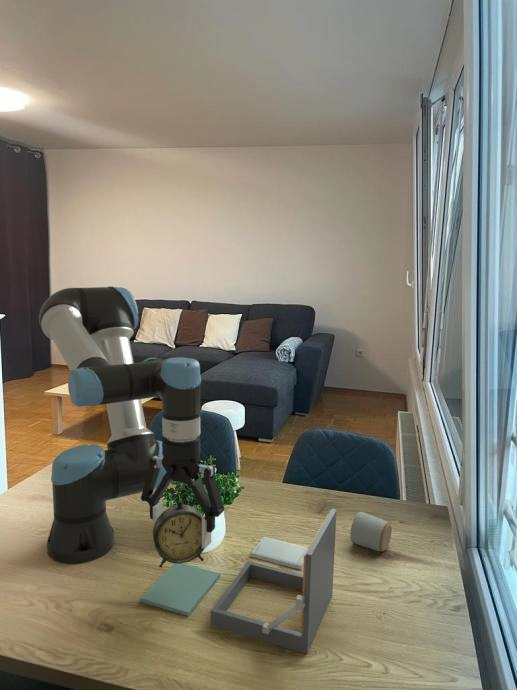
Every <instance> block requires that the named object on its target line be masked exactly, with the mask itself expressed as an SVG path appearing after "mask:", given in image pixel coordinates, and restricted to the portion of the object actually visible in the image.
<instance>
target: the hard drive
mask: <svg viewBox="0 0 517 690" xmlns="http://www.w3.org/2000/svg"><path fill="white" fill-rule="evenodd" d="M308 548H309V547H306V546H303V545H299V544H295V543H291V542H289V541H284V540H283V541H282V540H279V539H276V538H272V537H267V536H263V537H262V538H261V540H260V541H259V543H257V544H256V545H255V547H254V548H253V549H252V551H251V552H250V557H251V558H254V559H259V560H263V561H265V562H270V563H274V564H276V565H277V564H278V565H281V566H285V567H289V568H293V569H297V570H301V571H303V567H304V555H305V553H306V551H307V549H308Z"/></svg>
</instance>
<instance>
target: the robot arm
mask: <svg viewBox="0 0 517 690" xmlns="http://www.w3.org/2000/svg"><path fill="white" fill-rule="evenodd" d="M137 304H138V303H137V302H136V300H135V297H134V295H133V293H131V291H130V290H128V289H127V288H125V287H120V286H119V287H118V286H113V285H112V286H109V285H108V286H101V287H100V286H97V287H68V288H67V287H66V288H62V289H60V290H57V291H56V292H54V293H52V294H51V295H50V296H49V297H47V299H45V301H44V302H43V304H42V305H41V308H40V309H39V314H38V322H39V326H40V328H41V331H42V332H43V335H45V336H46V337H47V338H48V339H49V340H51V341H53V343H54V344H55V346H56V348H57V350H58V351H59V353H60V355H61V357H62V360H64V362H65V365H66V366H67V367H68V370H69V371H70V372H69V374H68V377H67V386H68V387H67V388H68V390H67V391H68V394H69V398H70V401H71V403H72V405H74V406H75V407H78V408H79V407H80V408H83V407H98V406H101V405H102V406H103V405H106V411H107V416H108V417H107V418H108V422H109V429H110V433H111V436H110V438H109V439H108V440H107V442H106V447H107V449H106V450H105V449H104V447H103V446H101V445H98V444H82V445H77V446H73V447H71V448H68V449H66V450H64V451H62V452H60V453H59V454H58V455H57V456H56V457H55V458H54V460H53V461H52V465H51V477H50V479H51V480H50V481H51V483H52V504H53V506H52V507H53V520H52V524H51V527H50V530H49V534H48V537H47V540H46V548H47V549H46V550H47V554H48V556H49V557H50V558H51V559H52V560H54V561H57V562H60V563H63V564H64V563H65V564H78V563H80V564H81V563H85V562H89V561H93V560H95V559H98V558H101V557H102V556H104V555H106V554H107V553H109V552H110V551H111V550H112V548H113V547H114V545H115V531H114V529H113V527H112V525H111V523H110V519H109V515H108V514H107V507H106V506H107V505H106V504H107V501H110V500H113V499H114V500H115V499H119V498H123V497H127V496H132V495H135V494H141V496H140V500H141V501H142V502H147V504H148V505H149V517H150V520H152V529H153V528H154V525H155V522H156V520H157V519H158V517H159V516H160V515H161V514H162V513H163V512H164V502H163V501H161V499H162V497H163V495H164V493H165V492H166V491H167V488H168V487H169V485H170V484H171V482H176V483H177V482H179V483H180V484H181V483H182V484H185V485H187V487H188V488H189V489H190V490H191V491H192V493H193V494H194V497H195V499H196V501H197V503H198V505H199V506H200V508H201V510H202V512H203V514H204V515H202V516H203V517H202V548H203V549H204V550H205V549H207V548H208V546H210V545H211V543H212V532H213V531H214V530H215V529H216V518H218V517H220V516H221V514H222V513H224V511H225V506H224V503H223V500H222V496H221V493H220V488H219V486H218V483H217V480H216V479H217V478H216V467H215V464H210V465H206V464H202V461H201V459H200V458H201V437H200V435H201V432H202V431H201V391H202V389H201V388H202V387H201V383H202V376H201V364H200V363H199V361H198V360H197V359H195V358H191V357H190V358H188V357H180V356H178V357H168V358H166V359H162V358H159V357H149V358H145V359H144V360H142V361H141V362H134V357H133V353H132V346H131V342H130V341H131V340H130V339H131V338H132V337H133V335H134V333H135V330H134V329H136V328H137V327H138V323H139V316H138V315H139V309H138V305H137ZM152 398H157V399H160V400H161V426H162V427H161V429H162V430H161V431H162V432H161V434H162V436H163V437H162V440H158V439H156V438H155V434H154V432H153V431H152V430H150V429H148V428H147V424H146V420H145V414H144V408H143V403H142V400H145V399H152ZM199 473H201V475H200V474H199ZM202 478H203V481H202ZM202 482H204V484H203V483H202ZM204 485H205V486H204Z"/></svg>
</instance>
